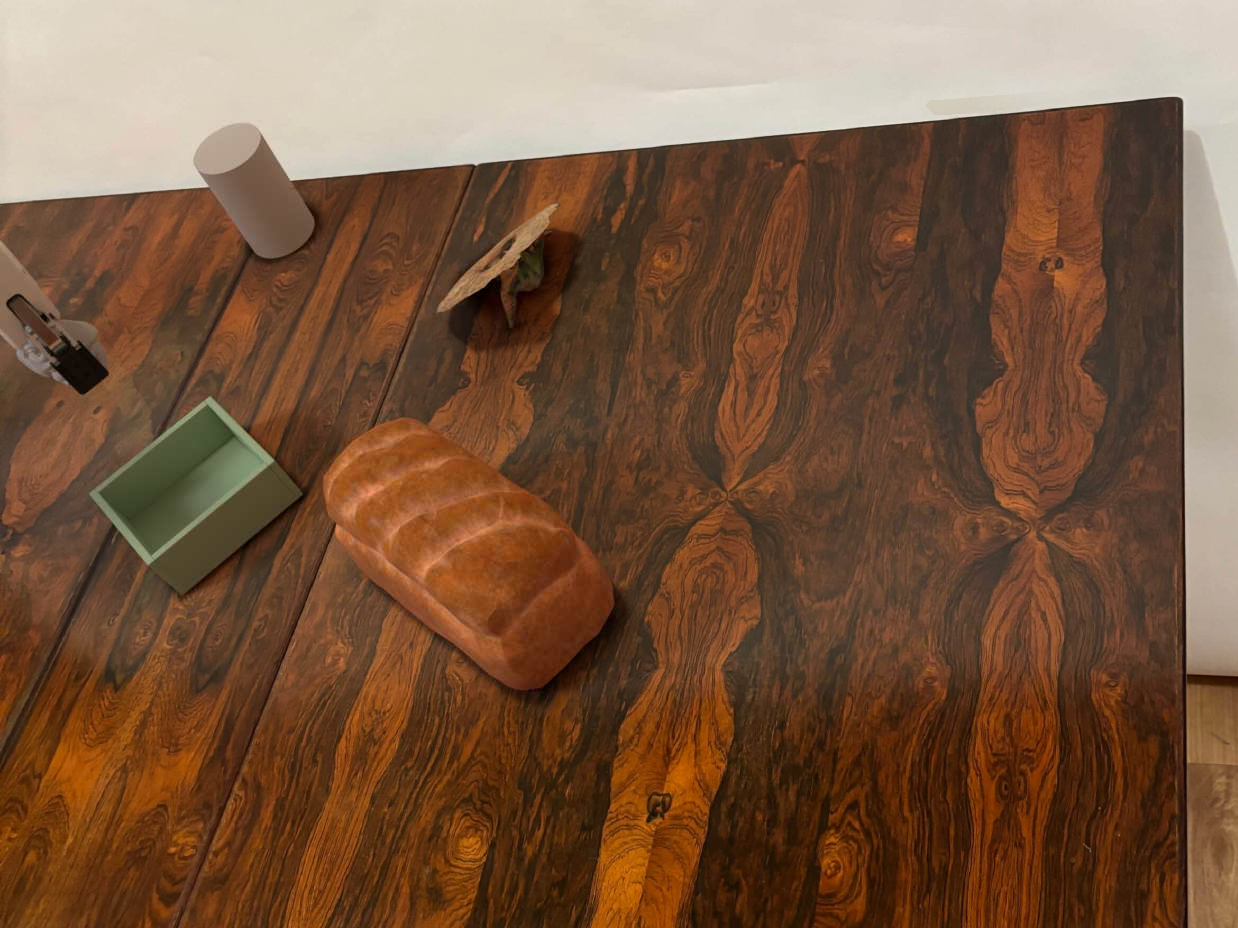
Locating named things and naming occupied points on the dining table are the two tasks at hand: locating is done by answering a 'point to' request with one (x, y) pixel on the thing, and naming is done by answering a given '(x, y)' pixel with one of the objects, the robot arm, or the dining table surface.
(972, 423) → the dining table surface
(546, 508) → the bread
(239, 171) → the grey tilted cylinder
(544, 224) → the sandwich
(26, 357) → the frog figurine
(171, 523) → the tub
